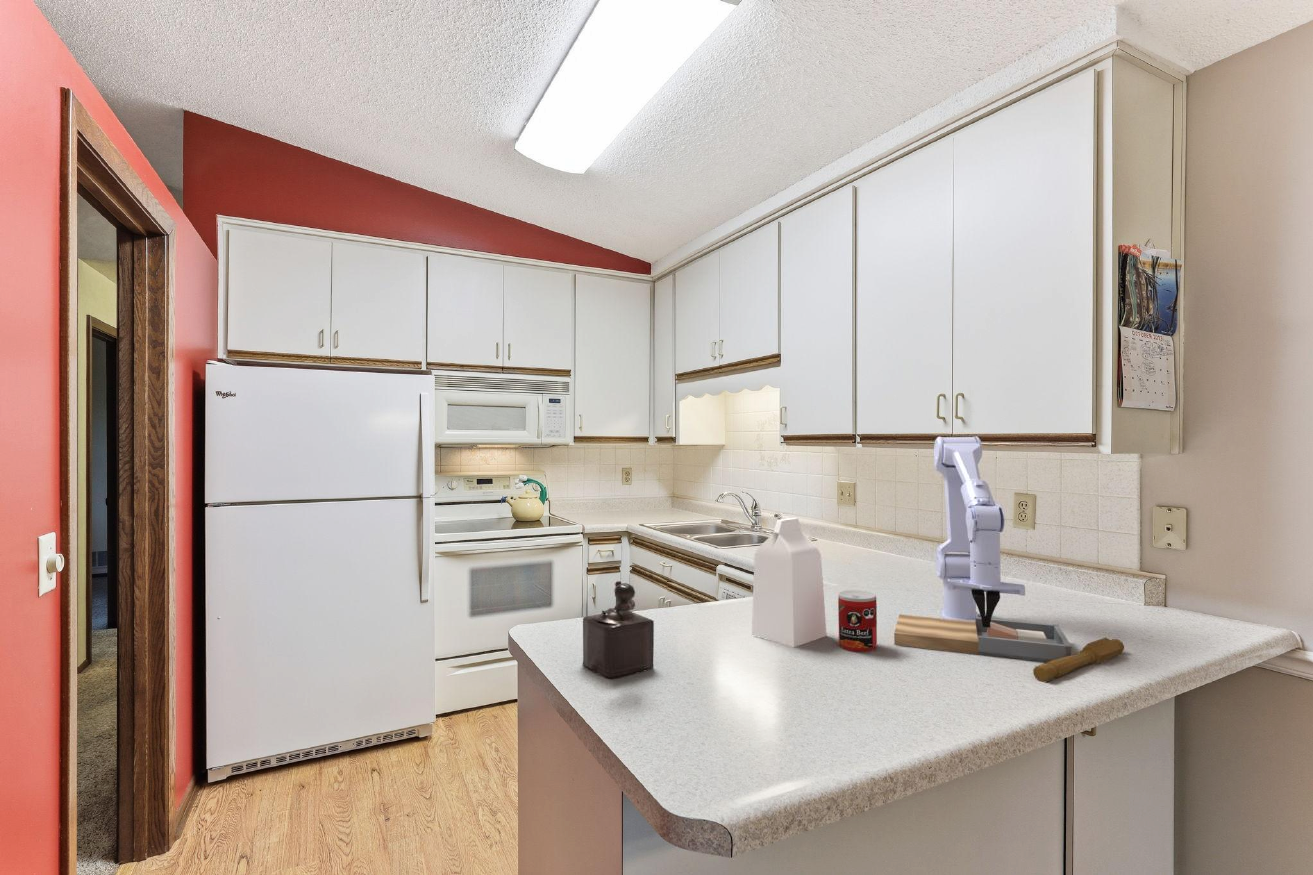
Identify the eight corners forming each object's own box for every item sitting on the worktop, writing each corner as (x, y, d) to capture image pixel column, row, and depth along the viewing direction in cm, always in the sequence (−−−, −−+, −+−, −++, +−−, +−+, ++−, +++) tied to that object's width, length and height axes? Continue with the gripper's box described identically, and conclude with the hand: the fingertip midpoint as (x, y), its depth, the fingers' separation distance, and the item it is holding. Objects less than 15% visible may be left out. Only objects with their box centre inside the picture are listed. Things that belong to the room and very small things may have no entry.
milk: (793, 647, 135) (792, 523, 136) (751, 635, 144) (750, 519, 144) (826, 635, 143) (825, 519, 144) (784, 625, 152) (783, 514, 152)
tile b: (1016, 640, 136) (1015, 629, 136) (1043, 643, 134) (1043, 631, 134) (1018, 647, 132) (1018, 635, 132) (1046, 650, 130) (1046, 638, 130)
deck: (899, 624, 151) (899, 614, 151) (975, 632, 144) (975, 621, 144) (894, 644, 136) (894, 632, 136) (978, 654, 130) (978, 641, 130)
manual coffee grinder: (578, 665, 126) (577, 573, 126) (625, 654, 132) (625, 566, 132) (621, 689, 113) (620, 587, 113) (671, 675, 120) (670, 579, 120)
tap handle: (1036, 661, 116) (1115, 634, 132) (1028, 674, 117) (1107, 645, 133) (1052, 674, 114) (1130, 644, 129) (1044, 686, 115) (1122, 656, 131)
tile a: (986, 632, 138) (989, 621, 138) (1012, 640, 136) (1015, 629, 136) (987, 639, 134) (991, 627, 134) (1014, 647, 132) (1017, 636, 132)
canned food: (835, 649, 134) (834, 596, 134) (843, 638, 141) (842, 588, 141) (873, 654, 130) (872, 600, 130) (879, 643, 137) (879, 592, 137)
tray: (975, 632, 144) (975, 617, 144) (1058, 641, 138) (1058, 624, 138) (978, 654, 130) (978, 637, 130) (1071, 665, 123) (1071, 646, 123)
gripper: (947, 562, 136) (948, 627, 136) (1026, 567, 130) (1027, 635, 130) (947, 557, 142) (948, 618, 142) (1022, 561, 136) (1023, 625, 136)
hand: (985, 626), depth 136 cm, fingers closed
